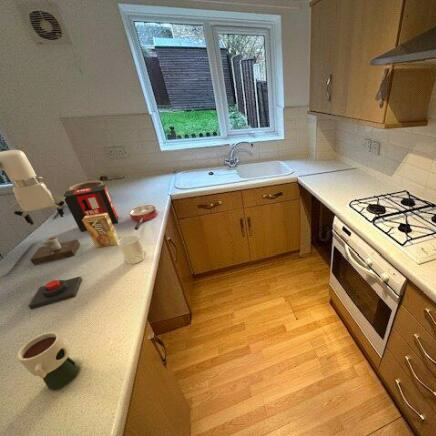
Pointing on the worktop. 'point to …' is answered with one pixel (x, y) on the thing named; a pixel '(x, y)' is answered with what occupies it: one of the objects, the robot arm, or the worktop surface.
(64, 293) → the button block
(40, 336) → the character mug
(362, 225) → the worktop surface
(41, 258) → the base
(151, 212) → the frying pan
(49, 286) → the button
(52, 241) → the tap knob
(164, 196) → the worktop surface
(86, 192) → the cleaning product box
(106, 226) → the candy box
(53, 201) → the robot arm
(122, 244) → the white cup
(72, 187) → the cooking pot
